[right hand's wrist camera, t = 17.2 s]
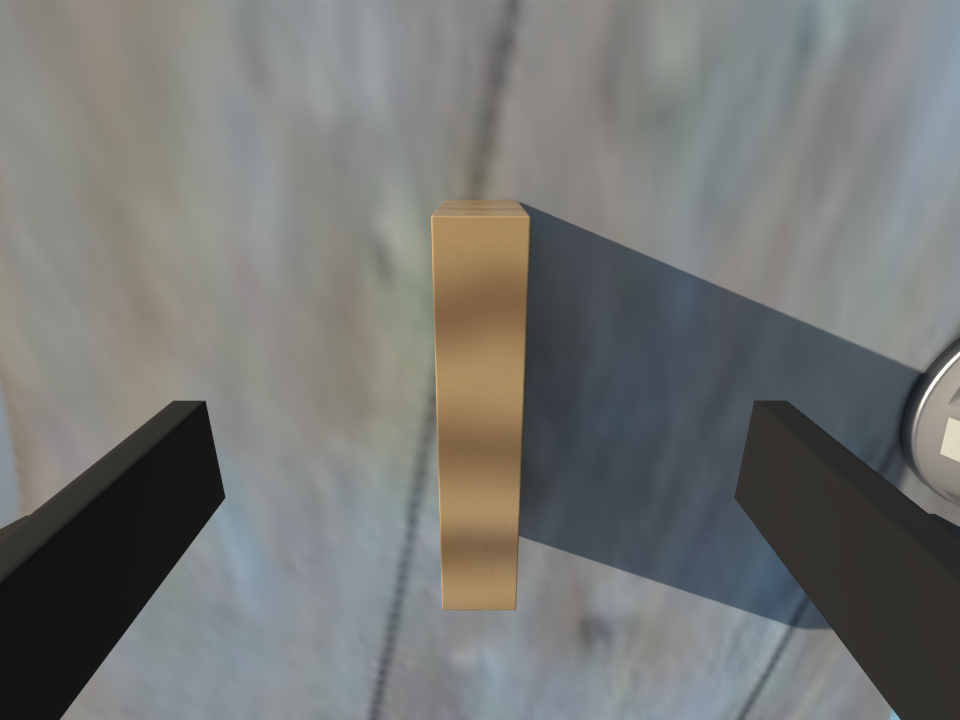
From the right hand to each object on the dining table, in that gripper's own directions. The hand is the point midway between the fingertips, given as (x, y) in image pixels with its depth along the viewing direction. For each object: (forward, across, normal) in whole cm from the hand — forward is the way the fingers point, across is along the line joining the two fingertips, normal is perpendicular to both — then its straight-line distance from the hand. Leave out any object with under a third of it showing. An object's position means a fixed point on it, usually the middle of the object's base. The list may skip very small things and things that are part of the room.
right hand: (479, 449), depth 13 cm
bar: (+22, 0, -7) cm, 23 cm away
